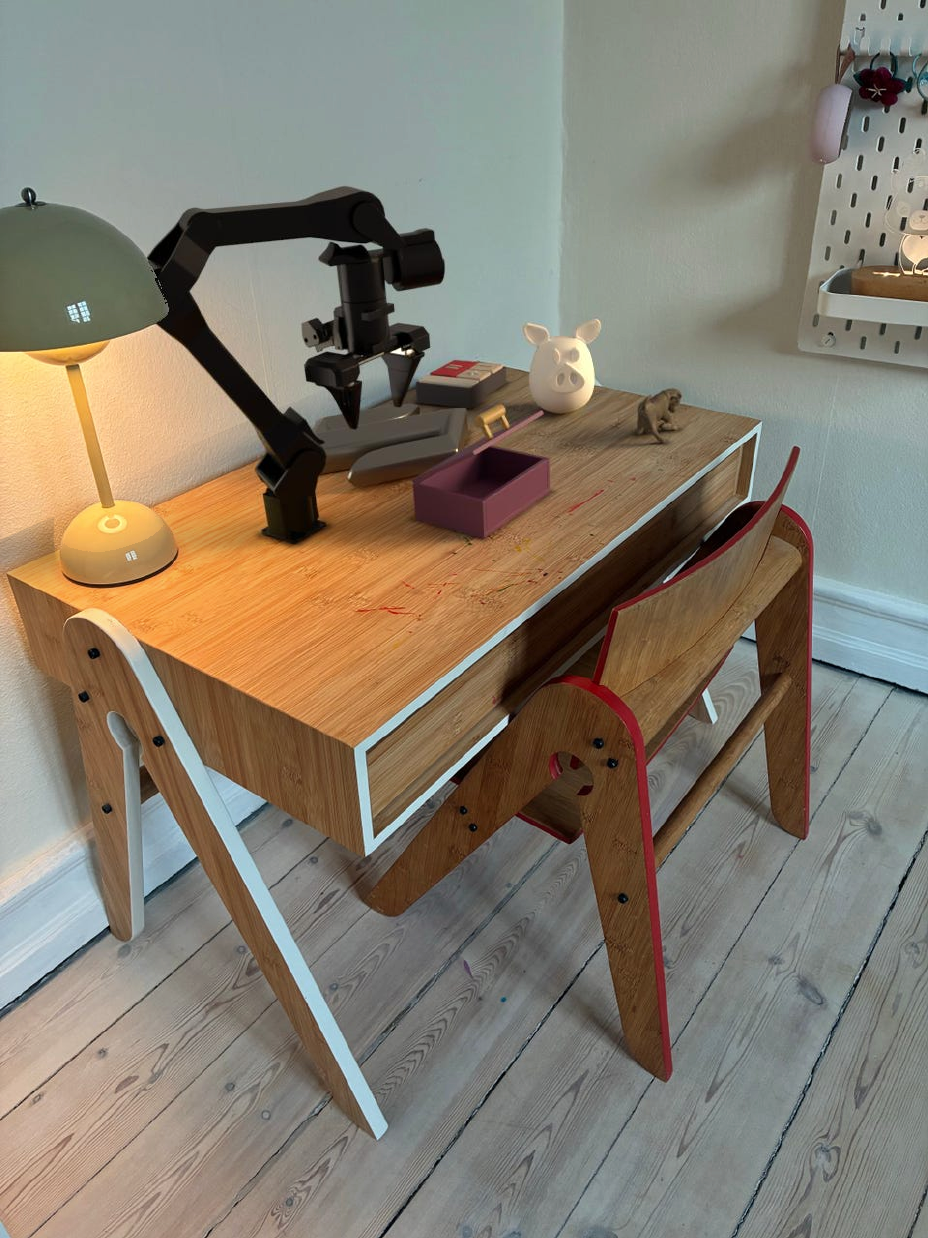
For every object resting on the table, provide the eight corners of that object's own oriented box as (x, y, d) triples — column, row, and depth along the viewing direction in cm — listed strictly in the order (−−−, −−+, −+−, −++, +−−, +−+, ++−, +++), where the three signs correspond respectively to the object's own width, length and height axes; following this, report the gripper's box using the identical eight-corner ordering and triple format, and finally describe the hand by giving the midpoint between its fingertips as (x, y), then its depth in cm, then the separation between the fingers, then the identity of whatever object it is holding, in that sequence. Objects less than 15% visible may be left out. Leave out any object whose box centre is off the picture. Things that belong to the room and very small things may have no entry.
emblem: (376, 381, 166) (510, 408, 151) (379, 411, 168) (510, 441, 153) (254, 434, 147) (392, 471, 132) (260, 466, 150) (396, 506, 135)
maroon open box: (550, 492, 137) (549, 457, 134) (484, 538, 125) (482, 502, 123) (483, 476, 142) (482, 443, 140) (415, 519, 131) (412, 484, 129)
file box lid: (543, 413, 131) (530, 386, 130) (474, 455, 120) (459, 426, 119) (483, 442, 140) (470, 417, 139) (413, 483, 128) (398, 456, 128)
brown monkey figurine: (659, 447, 148) (662, 400, 144) (625, 441, 151) (627, 395, 147) (691, 422, 156) (694, 377, 152) (658, 416, 159) (661, 372, 155)
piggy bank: (545, 429, 157) (545, 336, 149) (516, 407, 166) (514, 319, 159) (613, 415, 161) (616, 324, 153) (581, 395, 170) (582, 308, 162)
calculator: (507, 362, 176) (470, 384, 164) (507, 385, 178) (471, 409, 166) (453, 357, 180) (414, 378, 169) (453, 380, 182) (415, 402, 171)
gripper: (363, 275, 131) (374, 387, 139) (263, 308, 118) (283, 430, 126) (428, 282, 125) (436, 399, 133) (331, 318, 112) (347, 445, 121)
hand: (376, 417), depth 129 cm, fingers open, 9 cm apart
